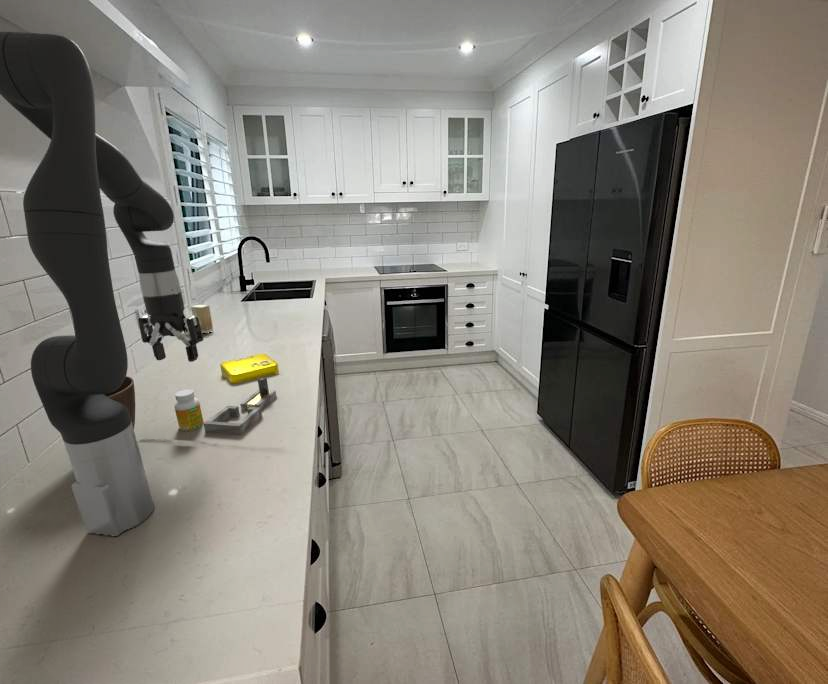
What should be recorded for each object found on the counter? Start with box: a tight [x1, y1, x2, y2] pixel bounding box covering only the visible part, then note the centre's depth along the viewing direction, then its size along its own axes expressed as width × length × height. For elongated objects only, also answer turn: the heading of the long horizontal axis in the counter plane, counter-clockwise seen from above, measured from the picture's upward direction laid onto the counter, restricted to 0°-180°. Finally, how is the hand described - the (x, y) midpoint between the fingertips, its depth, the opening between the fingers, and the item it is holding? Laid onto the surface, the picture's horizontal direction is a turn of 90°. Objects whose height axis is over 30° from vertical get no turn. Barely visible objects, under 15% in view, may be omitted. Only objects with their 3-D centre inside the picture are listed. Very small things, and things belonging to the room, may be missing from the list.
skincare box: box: [190, 304, 214, 334], centre depth 187 cm, size 6×4×12 cm
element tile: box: [219, 352, 280, 384], centre depth 138 cm, size 15×15×5 cm
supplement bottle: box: [173, 389, 205, 432], centre depth 103 cm, size 5×5×10 cm
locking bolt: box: [246, 376, 271, 410], centre depth 114 cm, size 8×2×6 cm, turn 169°
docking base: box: [203, 389, 277, 436], centre depth 110 cm, size 24×13×3 cm, turn 169°
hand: (177, 359), depth 99 cm, fingers open, 8 cm apart
